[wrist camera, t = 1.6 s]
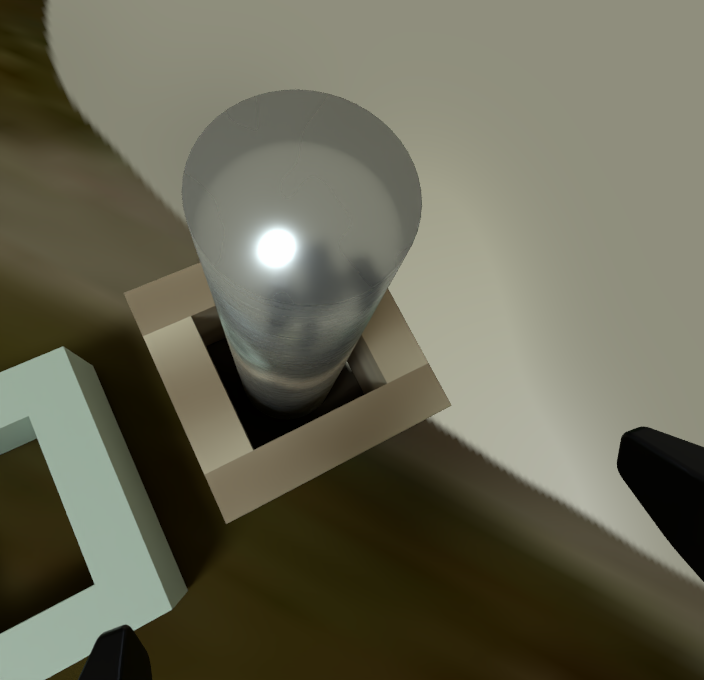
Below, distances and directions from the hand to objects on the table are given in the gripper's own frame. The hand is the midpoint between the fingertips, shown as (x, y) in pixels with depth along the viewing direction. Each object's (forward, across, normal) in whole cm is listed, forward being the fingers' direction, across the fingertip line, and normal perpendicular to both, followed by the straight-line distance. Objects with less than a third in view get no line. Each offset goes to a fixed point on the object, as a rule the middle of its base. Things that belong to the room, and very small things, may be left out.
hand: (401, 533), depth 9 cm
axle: (+12, 0, +4) cm, 13 cm away
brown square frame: (+12, 0, +4) cm, 13 cm away
